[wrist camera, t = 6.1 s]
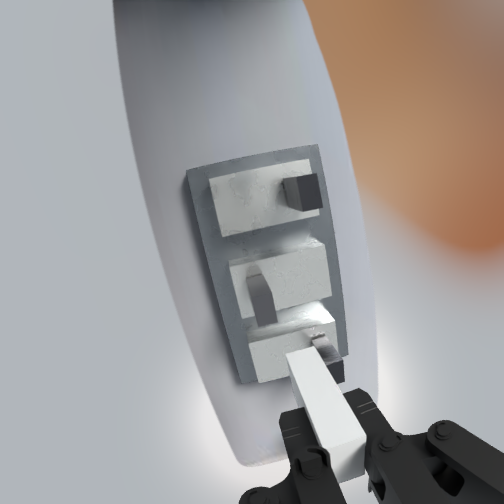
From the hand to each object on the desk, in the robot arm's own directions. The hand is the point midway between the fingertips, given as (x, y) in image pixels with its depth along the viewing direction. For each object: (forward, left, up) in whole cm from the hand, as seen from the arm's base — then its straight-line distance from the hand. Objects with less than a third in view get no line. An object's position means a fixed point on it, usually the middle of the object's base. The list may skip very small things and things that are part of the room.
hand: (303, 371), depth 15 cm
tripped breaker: (+1, 0, -14) cm, 14 cm away
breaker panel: (-1, +1, -18) cm, 18 cm away
